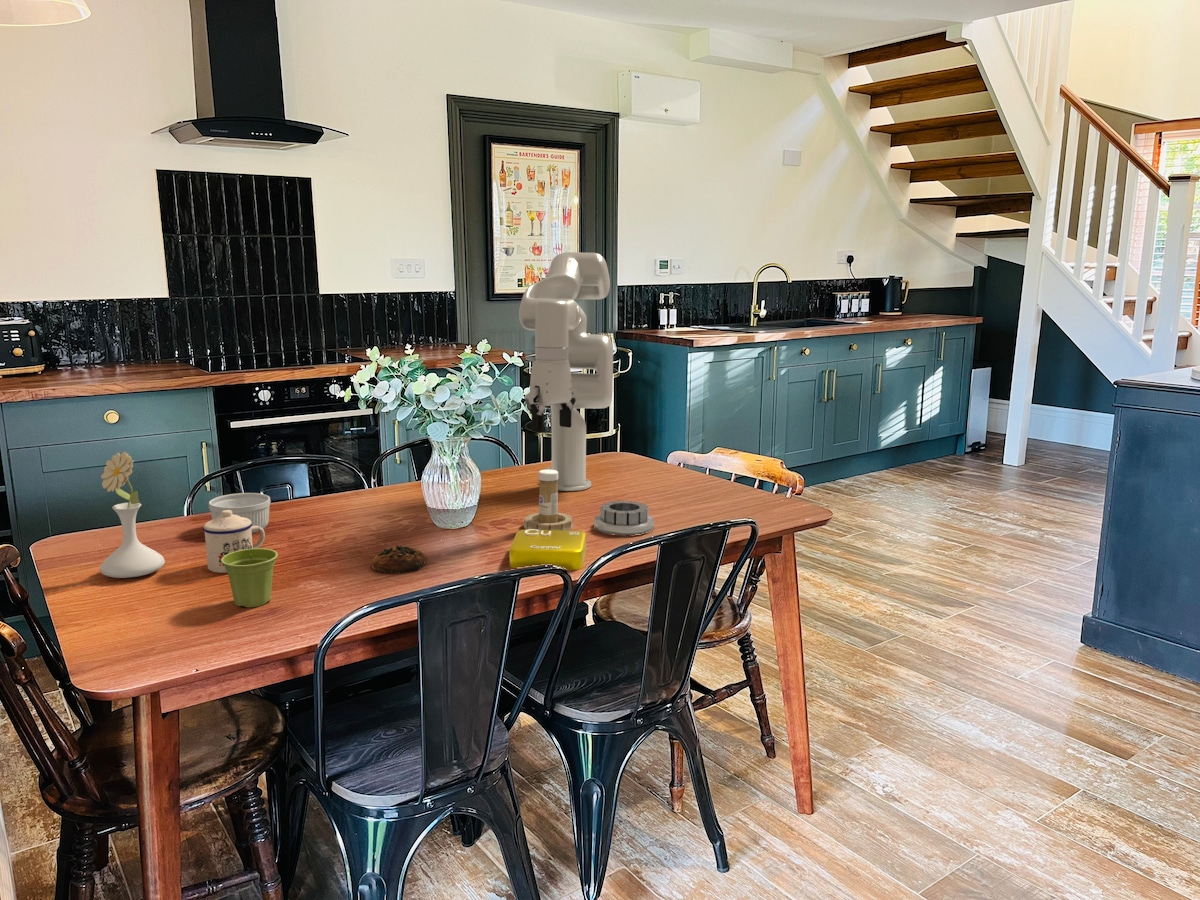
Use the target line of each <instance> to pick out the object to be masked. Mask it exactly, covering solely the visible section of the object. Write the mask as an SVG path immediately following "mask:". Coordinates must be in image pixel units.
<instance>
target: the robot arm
mask: <svg viewBox="0 0 1200 900" xmlns="http://www.w3.org/2000/svg"><path fill="white" fill-rule="evenodd" d="M545 275H546V276H545V278H543V279H540V280H538V281H537V282H534V283H532V284H531V285H529V287H527V288H526V289H525V291H524V292H523V295H522V297H521V301H520V305H519V310H518V319H519V323H520V325H521V327H522V328H523V329H524V330H527V331H534V334H535V335H534V337H535V338H534V339H535V340H534V341H535V342H534V343H535V344H534V346H535V349H534V350H535V352H534V353H535V356H534V357H535V360H534V361H532V367H531V371H530V382H529V391H528V393H526V394H525V396H524V402H525V404H526V409H527V410H528V411H529V414H530V415H531V432H534V433H540V434H541V433H542V434H543V433H544V431H545V416H544V415H545V414H543V413H544V410H545V408H546V407H550V415H551V417H550V418H551V467H549V466H547V467H545V469H544V470H548V469H549V470H556V471H558V482H557V486H558V487H557V488H558V490H557V491H563V492H577V491H583V490H587V489H589V488H591V487H592V481H591V480H590V479H588V478H586V476H587V423H586V420H585V419H584V417H583V416H582V414H581V413H580V412H579V409H606V408H608V407H610V405H611V404H612V401H613V400H612V399H613V389H614V388H613V386H614V385H613V381H614V378H613V377H614V376H613V375H614V349H613V343H612V340H611V338H610V337H609V336H607V335H605V334H593V333H592V334H591V333H590V334H588V333H587V325H588V324H587V320H588V319H587V315H586V313H585V312H584V310H583V309H582V307H581V306H580V305H579V304H578V303H577V302H576V301H575V300H593V301H595V300H597V301H598V300H603V299H605V298H606V297H608V295H609V293H610V288H611V279H610V274H609V268H608V265H607V262H606V259H605V258H604V256H602V254H600V253H597V252H579V251H578V252H576V251H575V252H574V251H573V252H572V251H571V252H570V251H569V252H562V253H559V254H557V255H555V256H554V257H553V259H552V260H551V263H550V266H549V269H548V271H547V272H546V274H545ZM571 369H572V370H594V371H595V372H596V373H586V372H585V373H584V372H572V371H571ZM577 409H578V410H577Z"/></svg>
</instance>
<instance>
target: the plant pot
mask: <svg viewBox="0 0 1200 900" xmlns="http://www.w3.org/2000/svg"><path fill="white" fill-rule="evenodd" d="M278 556H279V555H278V552H277V551H276V550H274V549H270V548H261V547H259V548H253V549H244V550H239V551H235V552H231V553H229V554H227V555H225V556H223V558H222V559H221V562H222V563H223V564H224V566H225V569H226V571H227V573H226V574H227V575H228V581H229V585H230V588H231V589H230V590H231V592H232V596H233V597H232V598H233V602H234V604H235V606H237V607H246V608H256V607H261V606H264V605H266V603H267V602H271V599H272V590H273V589H272V588H273V587H272V586H273V585H272V584H273V575H274V567H275V564H276V559H277V558H278Z"/></svg>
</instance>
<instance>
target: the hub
mask: <svg viewBox="0 0 1200 900" xmlns="http://www.w3.org/2000/svg"><path fill="white" fill-rule="evenodd" d="M593 525H594V526H593V527H595V528H594V529H596V530H595V531H597V532H598V531H599V532H598V533H600V532H603V533H606V534H605V535H607V534H615V535H635V534H642V533H646V532H649V531H651V530H652V529H653V528H654V529H655V518H654V517H653V516H652V515H649V506H648V505H646V504H645V503H642V502H638V501H631V500H615V501H608V502H605V503H602V504H601V506H600V513H599V514H598V515H596V516H595V517H594V524H593ZM654 529H653V530H654ZM603 533H602V534H603Z"/></svg>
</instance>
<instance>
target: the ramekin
mask: <svg viewBox="0 0 1200 900" xmlns="http://www.w3.org/2000/svg"><path fill="white" fill-rule="evenodd" d="M271 502H272V501H271V496H269V495H267V494H264V493H258V492H240V493H230V494H225V495H220V496H217V497H214V498H212V499H211V500H209V501H208V509H209V510H210V515H211V520H214V519H215V518H217V517H218V516H221V515H222V514H221V513H222V511H224V510H231V511H232V514H234V515H238V516H240V517H244V518H248V519H249V520H250V521H251V523H252V526H259V527H261V528H262V529H263V530H264V529H266V527H267V526H268V524H269V521H270V505H271ZM255 533H259V530H252V534H255Z"/></svg>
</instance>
